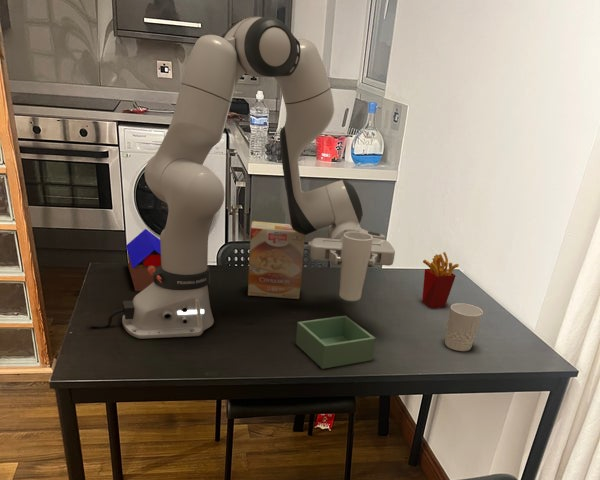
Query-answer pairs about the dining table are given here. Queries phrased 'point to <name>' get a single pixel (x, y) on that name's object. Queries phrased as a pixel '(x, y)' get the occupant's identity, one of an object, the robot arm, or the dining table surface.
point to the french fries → (437, 281)
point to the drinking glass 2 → (354, 264)
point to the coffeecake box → (275, 260)
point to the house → (143, 258)
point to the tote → (335, 341)
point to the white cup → (462, 326)
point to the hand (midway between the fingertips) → (355, 262)
